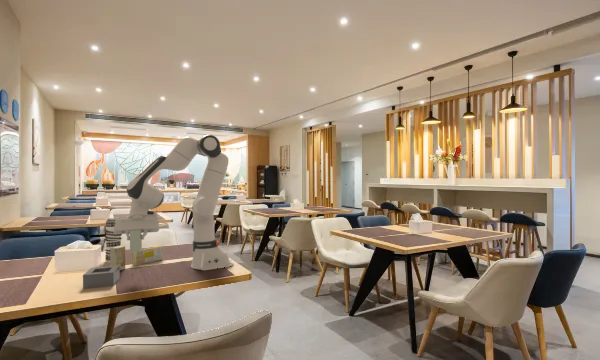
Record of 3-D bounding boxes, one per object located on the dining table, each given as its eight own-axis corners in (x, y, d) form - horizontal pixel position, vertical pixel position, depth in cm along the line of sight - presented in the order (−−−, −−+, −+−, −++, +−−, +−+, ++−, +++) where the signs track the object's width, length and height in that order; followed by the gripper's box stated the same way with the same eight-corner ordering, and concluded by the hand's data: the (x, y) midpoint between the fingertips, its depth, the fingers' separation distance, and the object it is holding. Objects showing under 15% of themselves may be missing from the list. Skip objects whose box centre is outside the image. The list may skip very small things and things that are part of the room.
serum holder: (119, 277, 158) (119, 265, 158) (113, 285, 147) (113, 272, 147) (91, 280, 155) (91, 267, 155) (83, 288, 143) (82, 275, 143)
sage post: (141, 249, 160) (141, 229, 160) (140, 251, 155) (139, 231, 155) (131, 250, 158) (131, 230, 158) (130, 252, 154) (129, 231, 154)
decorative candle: (120, 257, 199) (119, 217, 198) (124, 260, 192) (123, 218, 192) (103, 260, 193) (102, 218, 192) (106, 263, 186) (106, 219, 185)
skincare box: (117, 271, 169) (116, 248, 169) (109, 271, 170) (109, 248, 170) (126, 268, 175) (125, 245, 175) (119, 267, 176) (118, 245, 176)
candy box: (161, 259, 193) (160, 245, 193) (162, 260, 192) (162, 246, 192) (132, 265, 182) (131, 250, 182) (133, 265, 180) (133, 251, 180)
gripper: (114, 213, 160) (109, 236, 151) (159, 211, 166) (157, 234, 157) (116, 221, 164) (112, 244, 155) (160, 219, 171) (158, 241, 161)
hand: (135, 239), depth 156 cm, fingers closed on sage post, 4 cm apart
